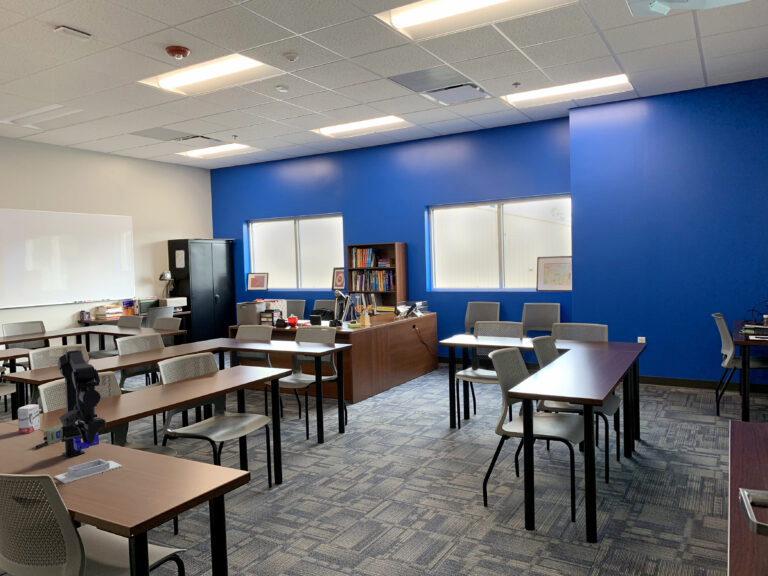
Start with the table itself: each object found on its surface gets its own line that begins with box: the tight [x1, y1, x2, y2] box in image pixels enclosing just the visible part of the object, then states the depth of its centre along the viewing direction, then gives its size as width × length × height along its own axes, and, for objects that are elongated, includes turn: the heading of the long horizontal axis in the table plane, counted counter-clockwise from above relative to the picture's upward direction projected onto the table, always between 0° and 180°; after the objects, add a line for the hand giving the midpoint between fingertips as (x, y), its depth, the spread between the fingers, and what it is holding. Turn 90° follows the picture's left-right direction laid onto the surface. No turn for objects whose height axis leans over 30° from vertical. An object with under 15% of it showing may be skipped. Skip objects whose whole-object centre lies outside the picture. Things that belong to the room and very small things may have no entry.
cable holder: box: [73, 432, 100, 451], centre depth 207 cm, size 8×4×4 cm, turn 136°
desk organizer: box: [54, 458, 123, 484], centre depth 207 cm, size 9×20×3 cm, turn 140°
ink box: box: [17, 404, 41, 435], centre depth 264 cm, size 9×5×12 cm, turn 179°
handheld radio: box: [34, 423, 62, 449], centre depth 248 cm, size 7×3×25 cm
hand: (87, 443), depth 207 cm, fingers closed on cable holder, 3 cm apart
